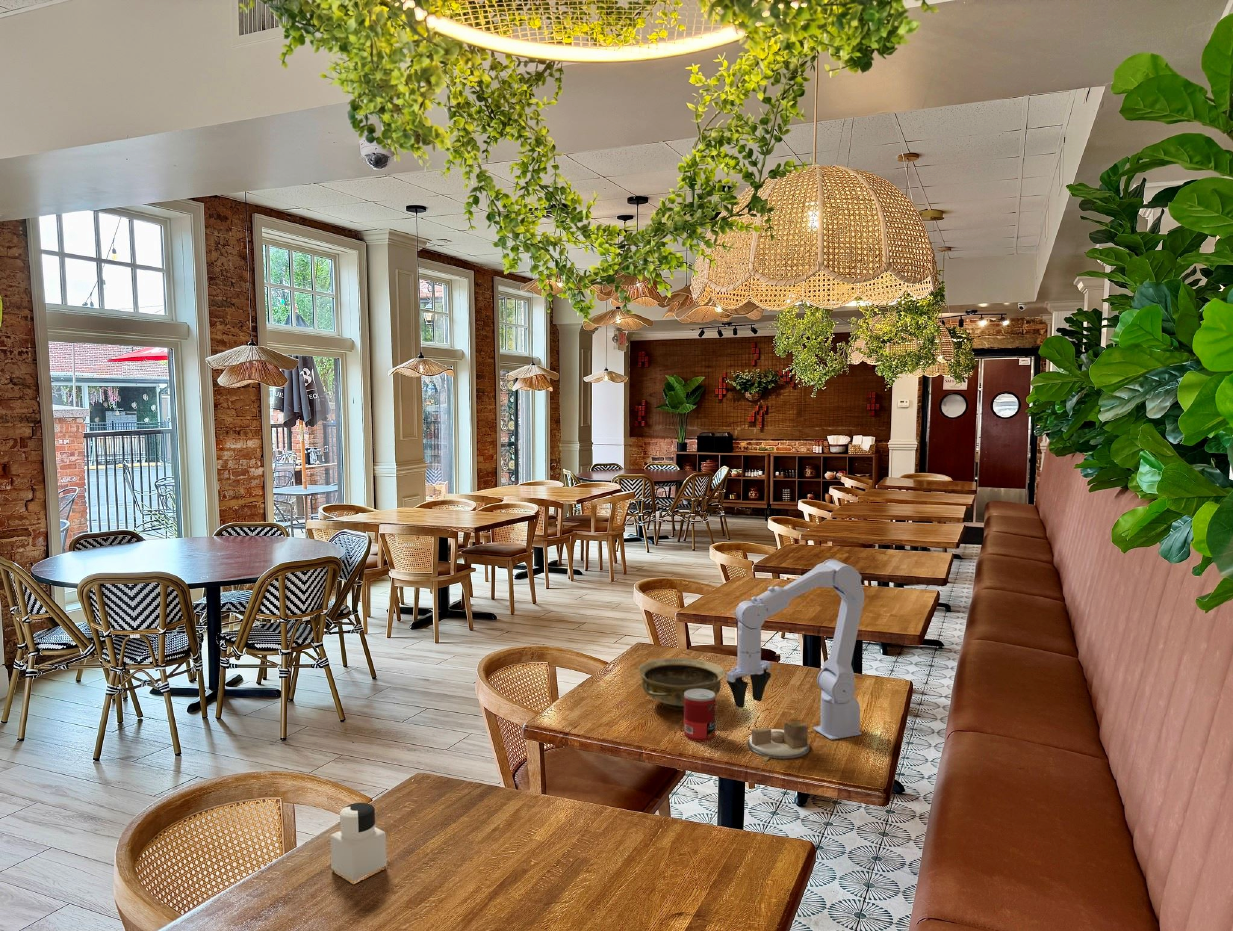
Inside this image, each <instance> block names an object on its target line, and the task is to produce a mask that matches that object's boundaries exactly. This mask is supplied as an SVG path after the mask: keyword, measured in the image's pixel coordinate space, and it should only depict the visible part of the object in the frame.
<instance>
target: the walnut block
mask: <svg viewBox="0 0 1233 931" xmlns="http://www.w3.org/2000/svg"><path fill="white" fill-rule="evenodd" d="M783 727H784V728H783V730H784V743H785V744H786V745H788V746H789V747H791V748H792V749H796V748H802V747H807V743H808V731H809V730H808V729H809V728H808V725H806V724H805V723H803V722H801V721H800V720H793V721H787V722H784V725H783Z"/></svg>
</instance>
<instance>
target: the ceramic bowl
mask: <svg viewBox="0 0 1233 931" xmlns="http://www.w3.org/2000/svg"><path fill="white" fill-rule="evenodd" d="M637 669H638V670H637V672H638V674H639V676H640V677H641V686H642V687H641V688H642V689H643V690H644V692H645V694H647V696H649V697H650V698H652V699H653V700H655V701H658V702H660V703H662V704H665V706H666V707H667V708H669V709H671V710H675V711H684V693H685V691H687V690H690V689H707V690H710V691H713V692H714V693H715V696H716V697H717V695H718V694H719V692H720V691H721V686H722V685H721V684H722V683H721V680H723V679H724V677H726V676H725V675H726V671H725V670H724V669H723V667H721V665H718V664H716V663H715V662H710V661H706V660H701V659H695V658H684V657H667V658H659V659H654V660H650V661H646V662H644V663H642V664H640V666H639V667H638V668H637Z"/></svg>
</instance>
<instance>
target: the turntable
mask: <svg viewBox="0 0 1233 931" xmlns="http://www.w3.org/2000/svg"><path fill="white" fill-rule="evenodd" d="M748 740H749V743H750V746H751V747H752V748H753V749H754V750H756V751H758V752H760V753H763V754H767V755H772V756H783V757H784V756H795V755H799V754H801V753H803V752H805V751H806V750H807V747H802V748H796V749H792V748H791V747H789V746H788V745H786V744H785V743H784V729H777V728H776V729H775V728H773V729H772V728H769V727H763V728H755V729H752V730H751V735H749V739H748Z"/></svg>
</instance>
